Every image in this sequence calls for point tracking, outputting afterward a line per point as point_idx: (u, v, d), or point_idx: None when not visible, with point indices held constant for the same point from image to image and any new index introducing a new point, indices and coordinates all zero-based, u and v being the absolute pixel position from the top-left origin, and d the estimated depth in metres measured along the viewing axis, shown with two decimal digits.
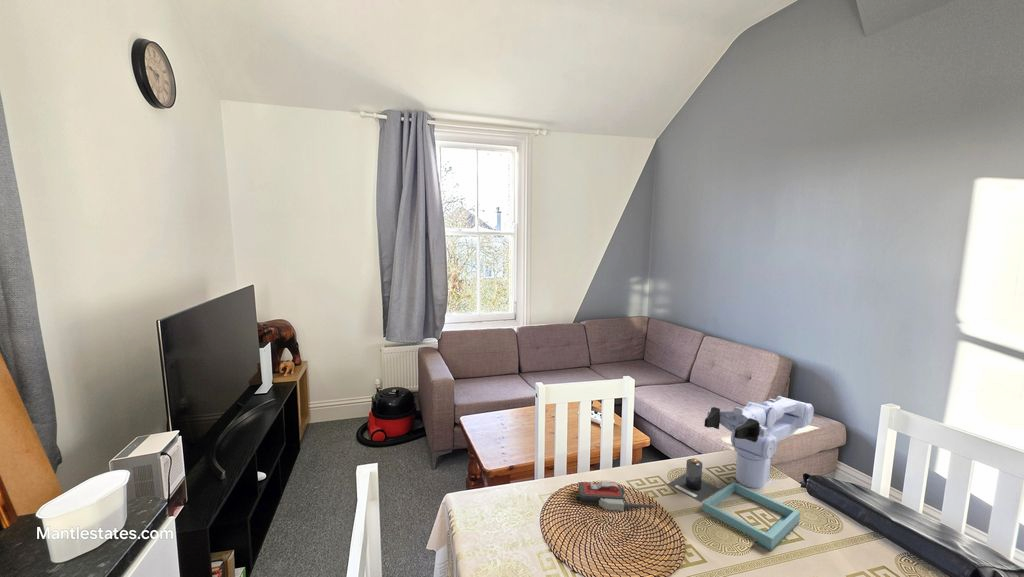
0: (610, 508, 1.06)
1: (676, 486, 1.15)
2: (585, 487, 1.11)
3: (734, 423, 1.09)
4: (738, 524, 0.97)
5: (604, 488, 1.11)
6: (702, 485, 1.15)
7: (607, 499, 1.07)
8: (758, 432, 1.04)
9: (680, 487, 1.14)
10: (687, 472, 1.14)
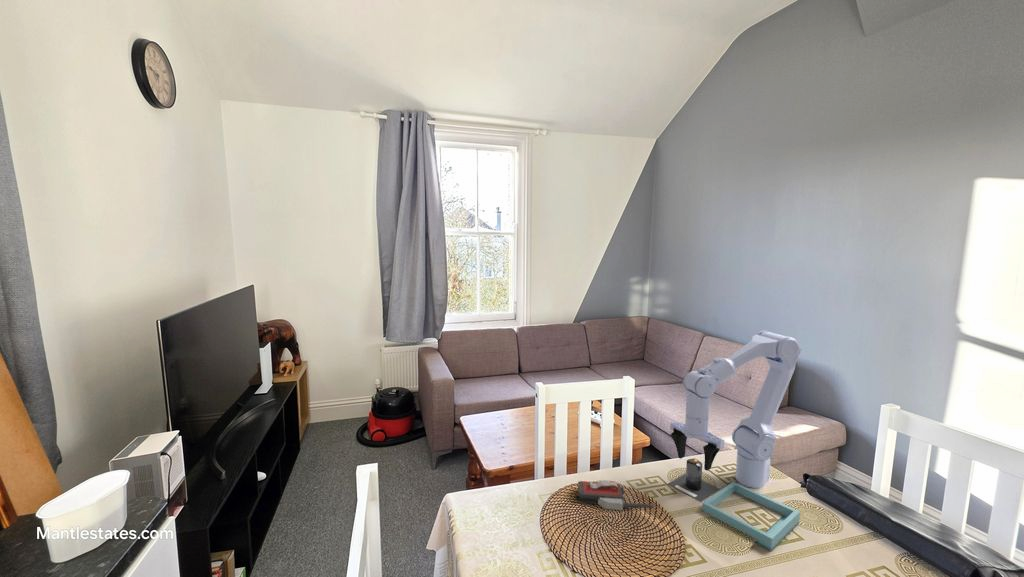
0: (609, 507, 1.06)
1: (676, 486, 1.15)
2: (585, 486, 1.12)
3: None
4: (738, 524, 0.97)
5: (604, 487, 1.11)
6: (702, 485, 1.15)
7: (606, 498, 1.08)
8: None
9: (680, 487, 1.14)
10: (687, 472, 1.14)
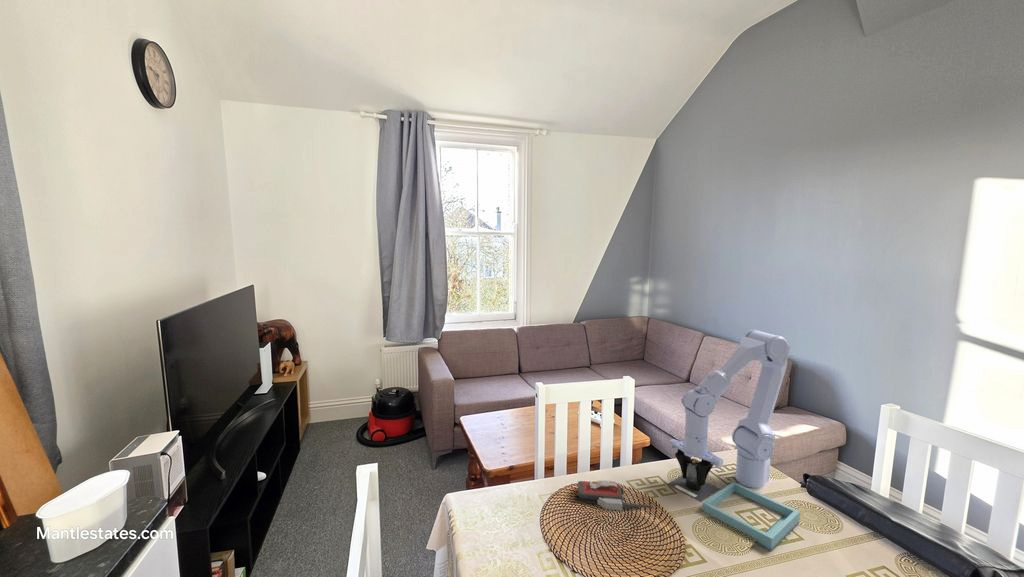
0: (608, 507, 1.06)
1: (676, 486, 1.15)
2: (584, 486, 1.12)
3: None
4: (738, 524, 0.97)
5: (603, 487, 1.11)
6: None
7: (606, 498, 1.08)
8: (711, 464, 1.10)
9: (680, 487, 1.14)
10: (687, 472, 1.14)
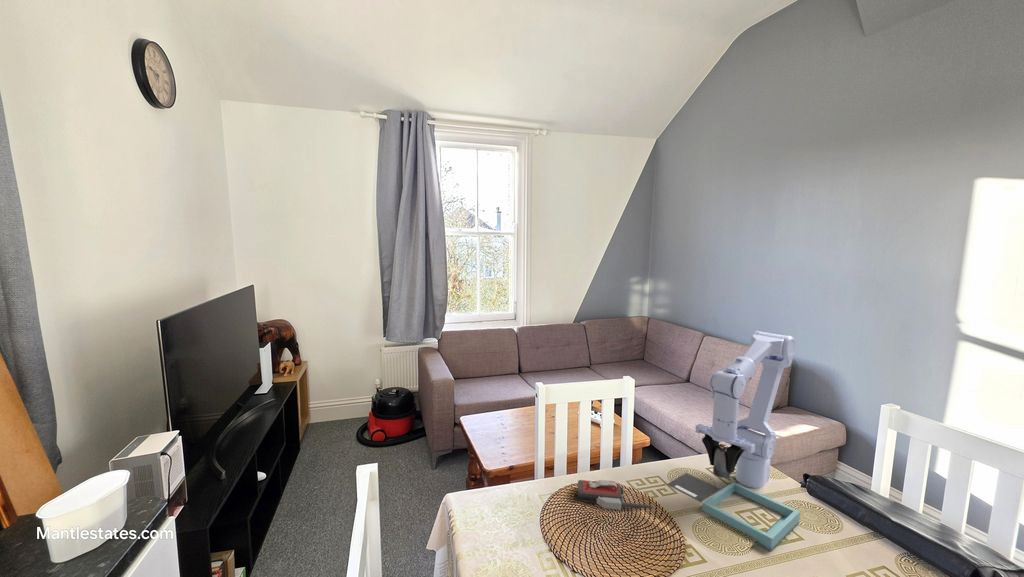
0: (607, 506, 1.06)
1: (676, 486, 1.15)
2: (584, 485, 1.12)
3: None
4: (738, 524, 0.97)
5: (603, 487, 1.11)
6: (702, 485, 1.15)
7: (605, 498, 1.08)
8: (741, 449, 1.03)
9: (680, 487, 1.14)
10: (715, 458, 1.07)
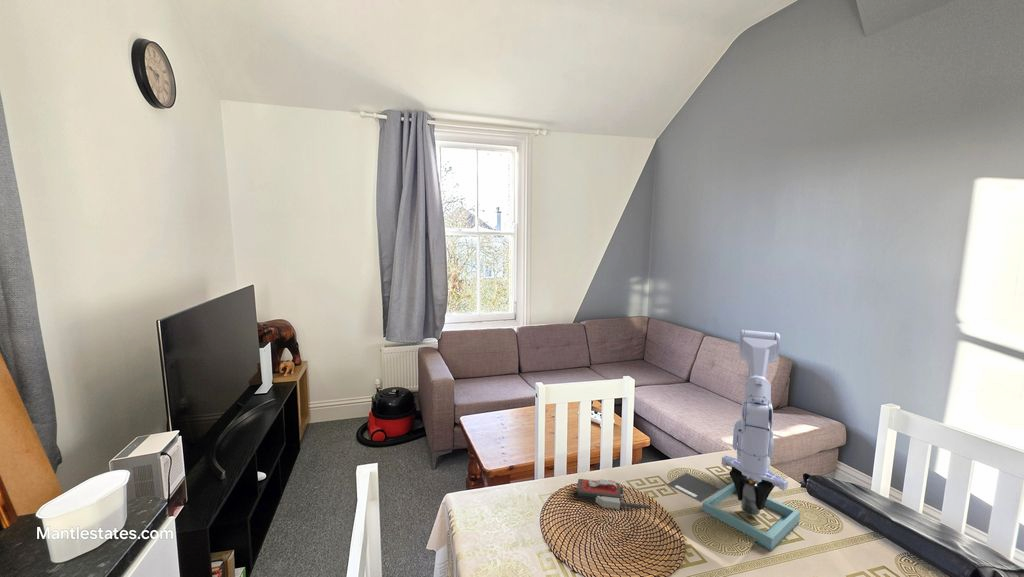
0: (606, 505, 1.07)
1: (676, 486, 1.15)
2: (583, 484, 1.13)
3: None
4: (738, 524, 0.97)
5: (602, 486, 1.12)
6: (702, 485, 1.15)
7: (604, 497, 1.08)
8: (773, 485, 0.98)
9: (680, 487, 1.14)
10: (744, 494, 1.02)
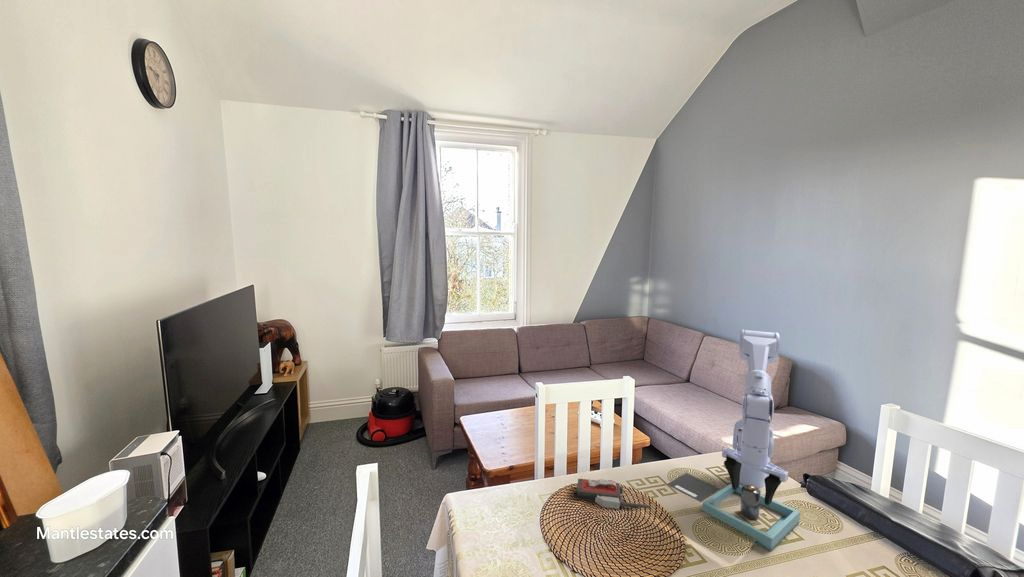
0: (606, 505, 1.07)
1: (676, 486, 1.15)
2: (583, 484, 1.13)
3: None
4: (738, 524, 0.97)
5: (602, 486, 1.12)
6: (702, 485, 1.15)
7: (603, 496, 1.08)
8: None
9: (680, 487, 1.14)
10: (743, 500, 1.02)
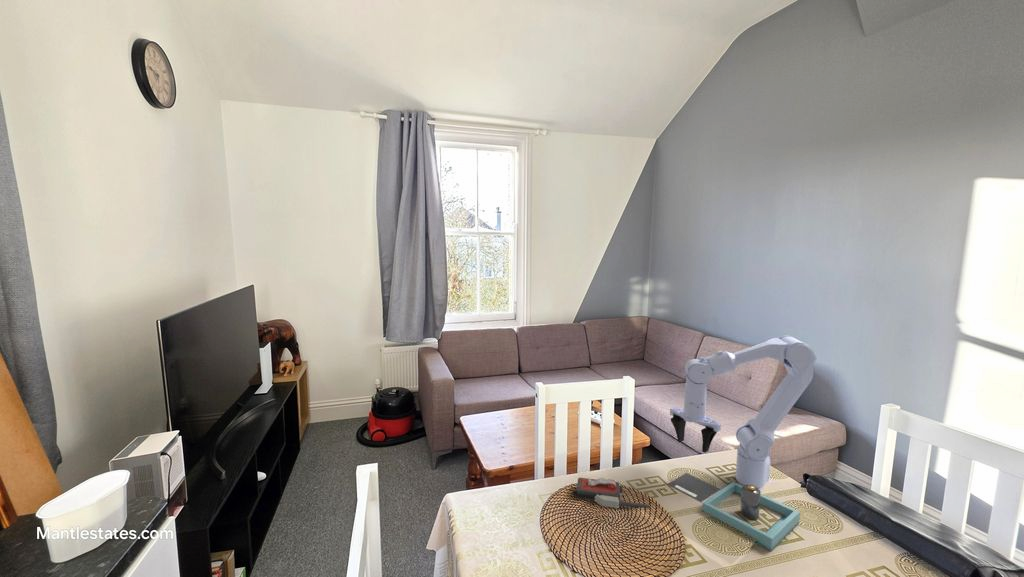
0: (605, 504, 1.07)
1: (676, 486, 1.15)
2: (583, 483, 1.13)
3: None
4: (738, 524, 0.97)
5: (602, 485, 1.12)
6: (702, 485, 1.15)
7: (603, 496, 1.09)
8: (714, 430, 1.15)
9: (680, 487, 1.14)
10: (743, 500, 1.02)
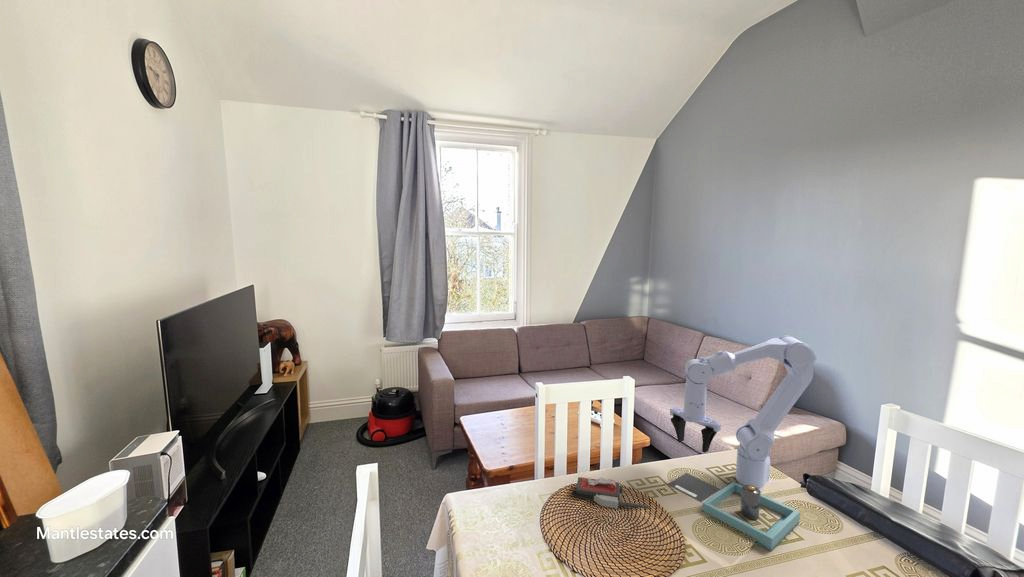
0: (604, 504, 1.07)
1: (676, 486, 1.15)
2: (583, 482, 1.13)
3: None
4: (738, 524, 0.97)
5: (601, 485, 1.12)
6: (702, 485, 1.15)
7: (602, 495, 1.09)
8: (714, 430, 1.15)
9: (680, 487, 1.14)
10: (743, 500, 1.02)
